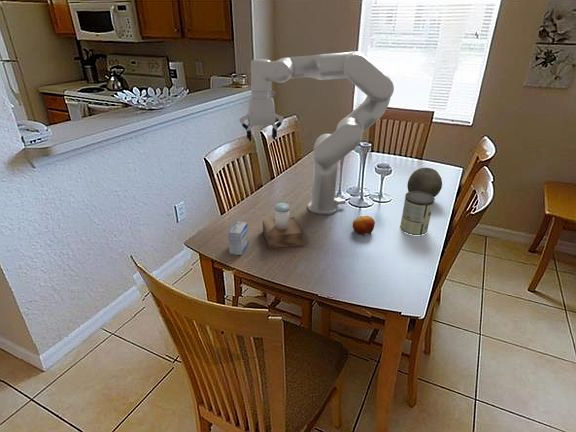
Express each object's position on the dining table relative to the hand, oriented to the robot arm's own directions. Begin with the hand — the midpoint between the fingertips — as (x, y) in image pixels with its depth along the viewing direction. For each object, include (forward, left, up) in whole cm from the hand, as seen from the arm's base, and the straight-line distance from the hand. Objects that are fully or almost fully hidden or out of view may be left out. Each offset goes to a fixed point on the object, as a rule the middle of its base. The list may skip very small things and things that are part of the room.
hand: (261, 139), depth 147 cm
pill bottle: (-2, +29, -23) cm, 37 cm away
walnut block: (-2, +29, -28) cm, 41 cm away
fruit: (-33, +31, -29) cm, 54 cm away
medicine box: (+14, +33, -29) cm, 46 cm away
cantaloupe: (-70, +10, -29) cm, 76 cm away
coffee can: (-53, +33, -29) cm, 69 cm away
